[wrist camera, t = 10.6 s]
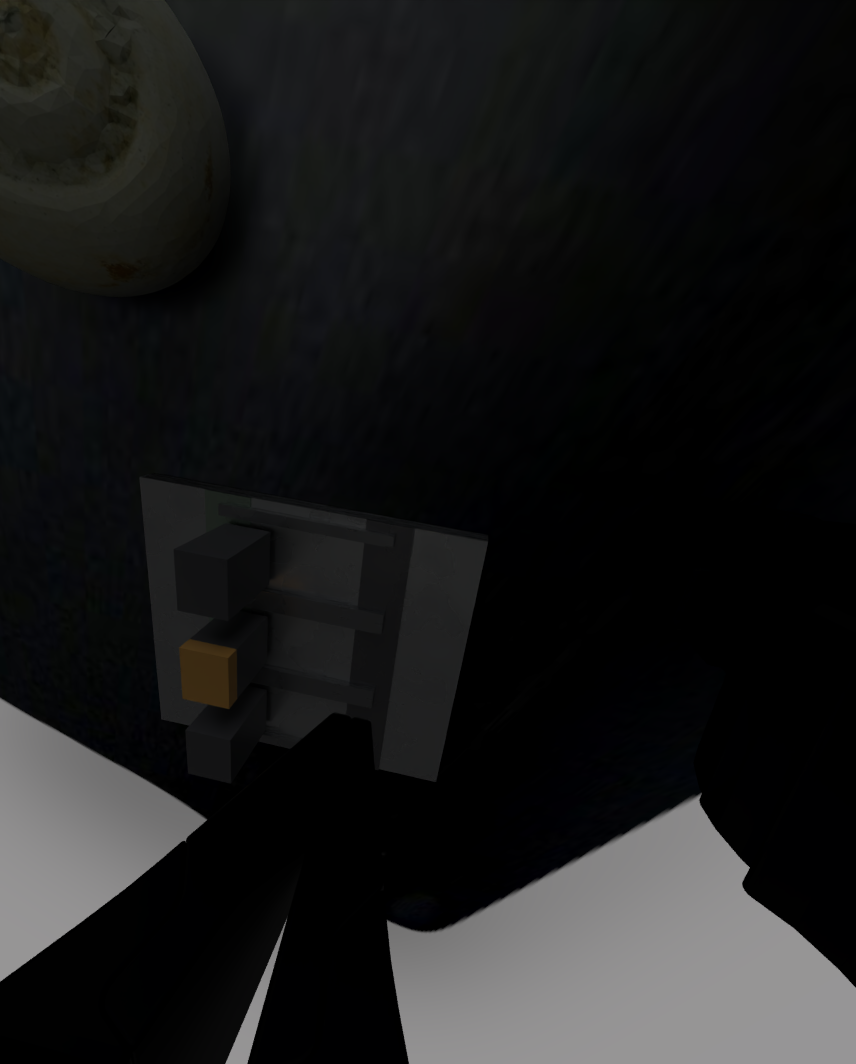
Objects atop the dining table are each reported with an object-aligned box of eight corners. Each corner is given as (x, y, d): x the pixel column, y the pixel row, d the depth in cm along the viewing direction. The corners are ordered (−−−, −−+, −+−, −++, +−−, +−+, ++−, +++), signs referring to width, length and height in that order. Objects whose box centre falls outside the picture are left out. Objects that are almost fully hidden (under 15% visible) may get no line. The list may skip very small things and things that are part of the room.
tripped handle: (267, 616, 22) (228, 658, 19) (266, 661, 23) (229, 709, 20) (226, 608, 22) (179, 647, 19) (227, 653, 23) (182, 698, 20)
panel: (487, 535, 20) (488, 544, 19) (437, 767, 26) (435, 787, 25) (154, 473, 22) (133, 478, 20) (172, 707, 27) (156, 723, 26)
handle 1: (270, 531, 20) (227, 559, 17) (269, 584, 21) (228, 620, 18) (225, 523, 21) (173, 549, 17) (226, 575, 22) (177, 610, 18)
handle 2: (266, 689, 24) (230, 740, 20) (266, 728, 25) (231, 783, 21) (228, 681, 24) (185, 730, 20) (229, 720, 25) (187, 773, 22)
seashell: (128, -163, 9) (12, 290, 11) (297, 132, 17) (210, 363, 19) (-330, -385, 9) (-356, 83, 12) (39, -1, 17) (-16, 237, 19)
